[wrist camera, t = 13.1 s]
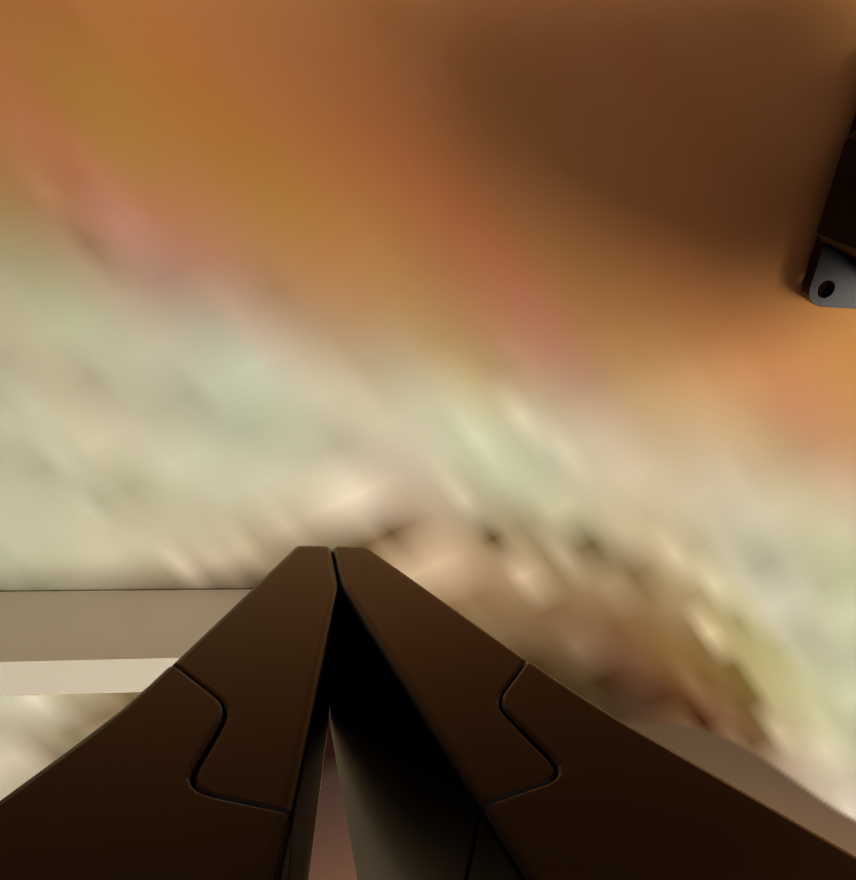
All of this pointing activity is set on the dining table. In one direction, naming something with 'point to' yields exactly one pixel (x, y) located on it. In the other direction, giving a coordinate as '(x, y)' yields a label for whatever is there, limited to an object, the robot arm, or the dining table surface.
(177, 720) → the robot arm
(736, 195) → the dining table surface
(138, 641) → the trap box
